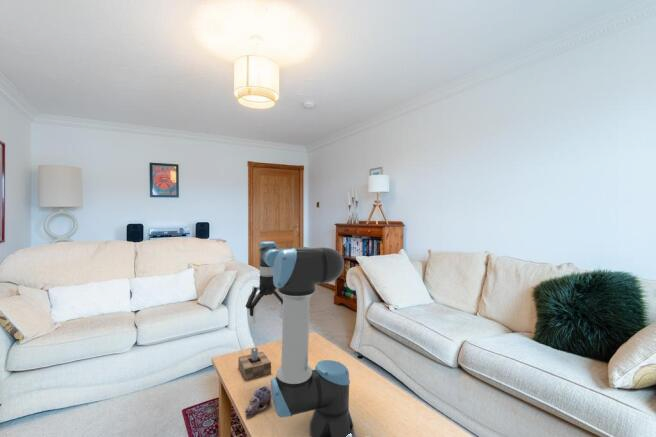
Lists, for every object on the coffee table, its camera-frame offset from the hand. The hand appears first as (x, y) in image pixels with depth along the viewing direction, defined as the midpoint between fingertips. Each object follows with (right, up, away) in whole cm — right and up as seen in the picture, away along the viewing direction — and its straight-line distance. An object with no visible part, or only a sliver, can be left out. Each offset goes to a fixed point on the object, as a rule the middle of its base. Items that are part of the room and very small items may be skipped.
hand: (267, 320), depth 142 cm
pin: (-7, -24, +2) cm, 25 cm away
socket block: (-7, -24, +2) cm, 25 cm away
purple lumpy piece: (+1, -26, -25) cm, 36 cm away
